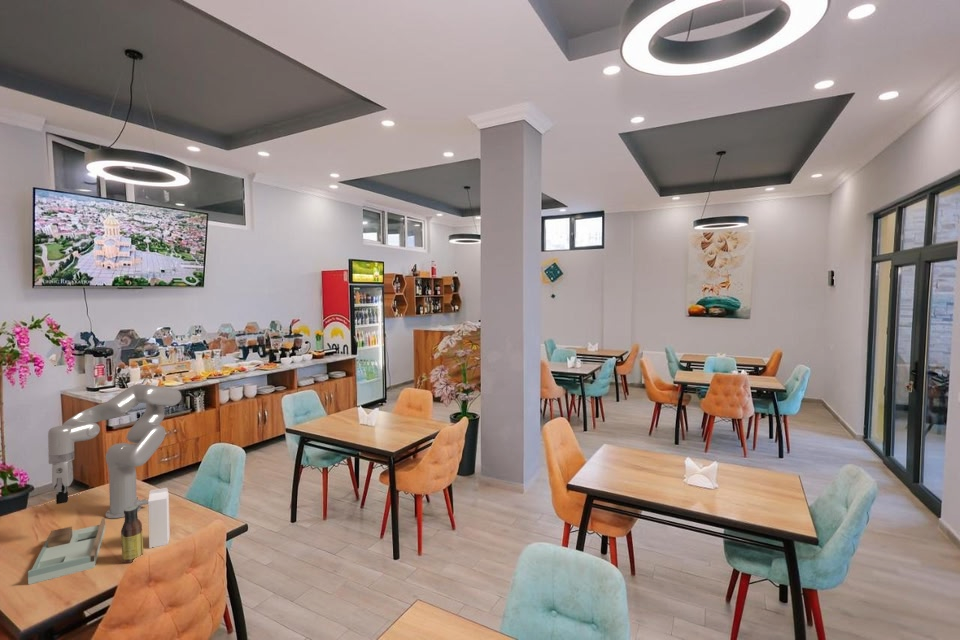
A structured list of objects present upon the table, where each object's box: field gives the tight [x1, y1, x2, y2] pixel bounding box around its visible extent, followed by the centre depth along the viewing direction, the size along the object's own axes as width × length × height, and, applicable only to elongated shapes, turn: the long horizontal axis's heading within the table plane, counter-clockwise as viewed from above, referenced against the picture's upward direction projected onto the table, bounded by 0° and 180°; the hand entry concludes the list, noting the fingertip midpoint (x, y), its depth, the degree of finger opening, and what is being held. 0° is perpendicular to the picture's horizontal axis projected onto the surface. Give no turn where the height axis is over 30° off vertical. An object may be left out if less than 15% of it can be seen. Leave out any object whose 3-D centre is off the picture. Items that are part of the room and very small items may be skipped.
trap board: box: [27, 517, 106, 586], centre depth 168 cm, size 17×32×5 cm, turn 35°
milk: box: [147, 487, 171, 549], centre depth 176 cm, size 6×6×22 cm
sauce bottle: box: [120, 506, 144, 564], centre depth 165 cm, size 7×6×20 cm
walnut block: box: [47, 526, 73, 548], centre depth 171 cm, size 6×6×4 cm
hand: (62, 502), depth 177 cm, fingers closed
